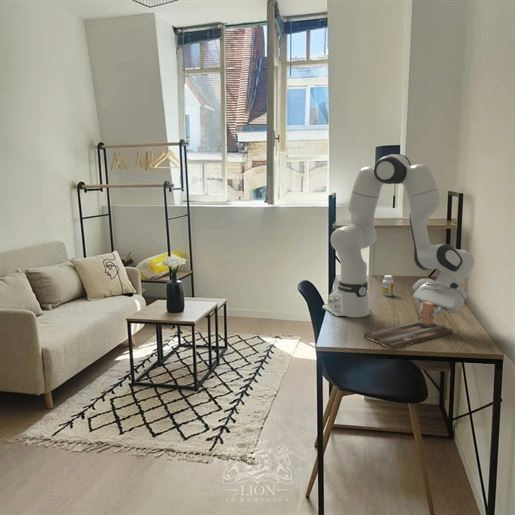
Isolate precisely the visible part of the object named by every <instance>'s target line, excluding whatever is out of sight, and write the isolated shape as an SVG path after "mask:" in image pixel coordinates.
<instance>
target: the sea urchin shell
mask: <svg viewBox="0 0 515 515" xmlns="http://www.w3.org/2000/svg"><path fill="white" fill-rule="evenodd" d="M435 281H436V280H433V279H432V278H428V277H427V278H420V279H418V280H417V281H416V282H415V283H413V286H412V288H411V290H412V293H413V294H414V293H415V292H416V291H417V289H418V288H419V287H420V286H421V285H422V284H424V283H431V284H434V282H435Z"/></svg>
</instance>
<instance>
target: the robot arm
mask: <svg viewBox="0 0 515 515" xmlns="http://www.w3.org/2000/svg"><path fill="white" fill-rule="evenodd" d="M384 184H385V185H399V184H402V185H403V186H404V189H405V191H406V195H407V198H408V201H409V208H410V210H409V211H410V212H409V225H410V231H411V235H412V240H413V241H412V242H413V246H414V247H413V248H414V249H413V250H414V253H413V258H414V259H413V260H414V263H415V265H416V266H417V267H418V268H419V269H420V270H423V271H431V270H439V271H440V274H438V276H437V277H436V279H435V280H434V281H435V282H434V284H431V283H424V284H422V285H421V286H420V287H419V288H418V289H417V291H416V292H415V293H414V292H413V294H412V298H413V300H414V301H415V302H416V303H418V304H420V308H419V310H418V312H419V313H420V314H421V315H423V303H424V302H430V303H434V308H435V309H436V310H435V311H434V312H433V311H432V313H431V317H433V319H436V318H437V317H438V316H439V315H441V314H442V313H443V312H445V311H446V312H449V313H453V314H458V313H459V312H460V311H461V309H462V308H463V306H464V304H465V302H466V299H467V298H468V294H467V292H466V291H465V289H464V288H463V287H462V283H463V282H464V281H465V280H466V279H467V277H468V276H469V275H470V273H471V271H472V269H473V266H474V264H475V263H474V262H475V260H474V257H473V255H472V254H471V253H470V252H469V251H467V250H465V249H457V248H455V247H454V246H452V245H451V244H448V243H440V244H439V243H438V244H431V242H430V238H429V237H430V236H429V232H428V226H427V225H428V220H429V218H430V217H431V216H432V215H433V214H434V213H435V212H436V211H437V210H438V209H439V207H440V204H441V197H440V193H439V188H438V187H437V184H436V180H435V179H434V175H433V173H432V171H431V170H430V168H429V167H428V166H427V165H426V164H423V163H419V164H417V163H416V164H413V165H412V164H411V160H410V159H409V158H408V157H407V156H405V155H403V154H400V153H393V154H392V153H391V154H388V155H385V156H382V157H381V158H379V159H378V160H377V161H376V163H375V164H374V166H368V165H367V166H364V167H361V168H360V170H359V171H358V173H357V176H356V179H355V180H354V183H353V187H352V190H351V195H350V199H349V202H348V207H347V209H348V212H349V213H350V224H349V225H344V226H343V225H342V226H341V227H338V228H336V229H335V230H333V231H332V233H331V236H330V244H331V247H332V248H333V249H334V250H335V252H336V253H337V255H338V258H339V264H340V281H339V280H338V282H336V285H338V286H337V289H336V290H334V291H333V292H331V293H330V294H329V295H328V297H327V303H326V304H323V305H322V309H323V310H325V311H327V312H328V311H329V313H330V312H331V313H330V314H331V315H333V314H334V315H333V316H335V315H336V316H335V317H338V316H347V317H346V318H363V317H367V316H369V315H370V314H371V313H370V311H371V307H370V306H369V305H370V304H369V294H368V287H369V286H368V285H369V284H368V283H369V282H368V281H367V278H368V277H367V275H368V272H367V271H368V265H367V263H366V261H365V260H364V259H363V256H362V249H367V248H369V247H371V246H372V245H373V244H375V242H376V241H377V238H378V232H377V229H376V228H375V214H376V213H375V212H376V208H377V204H378V201H379V197H380V193H381V189H382V187H383V185H384Z"/></svg>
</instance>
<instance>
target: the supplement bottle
mask: <svg viewBox="0 0 515 515" xmlns="http://www.w3.org/2000/svg"><path fill="white" fill-rule="evenodd" d="M394 285H395V284H394V280H393V275H389V274H386V275H384V276H383V280H382V286H381V287H382V288H381V290H382V292H381V294H382V296H384V297H391V296H394Z"/></svg>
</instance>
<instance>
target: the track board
mask: <svg viewBox="0 0 515 515" xmlns="http://www.w3.org/2000/svg"><path fill="white" fill-rule="evenodd" d="M422 320H423V319H421V320H416V321H412V322H408V323H404V324H399V325H396V326H395V325H394V326H391V327H388V328H383V329H378V330H374V331H369V332H365V333H364V334H363V335H364V336H365V337H368V338H370V339H373V340H375V341H378V342H380V343H382V344H384V345H386V346H388V347H390V348H394V349H396V348H395V347H398V348H400V347H399V346H402V347H404V346H403V345H406V346H408V345H407V344H409V345H412V344H411V343H413V344H416V343H415V342H417V343H420V342H419V341H421V342H424V341H423V340H425V341H427V340H426V339H428V340H432V339H436V338H440V337H443V335H444V336H447V335H446V334H448V335H450V334H453V329H452V328H449V327H447V326H446V324H437V325H436V327H432V328H425V327H422V326H419V322H422ZM364 336H363V337H364ZM439 336H440V337H439ZM365 337H364V338H365ZM435 337H436V338H435ZM431 338H432V339H431ZM386 346H385V347H386ZM388 347H387V348H388ZM390 348H389V349H390Z"/></svg>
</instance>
